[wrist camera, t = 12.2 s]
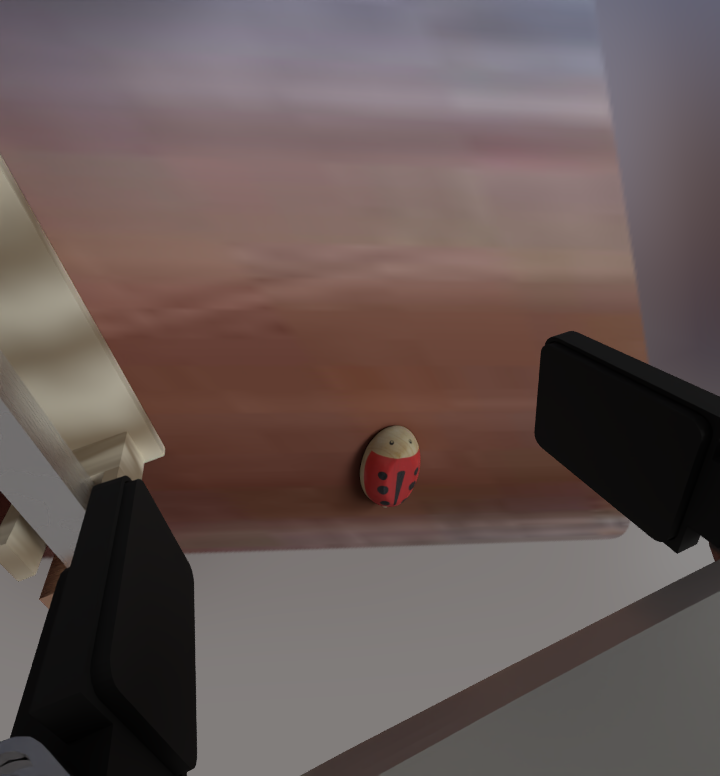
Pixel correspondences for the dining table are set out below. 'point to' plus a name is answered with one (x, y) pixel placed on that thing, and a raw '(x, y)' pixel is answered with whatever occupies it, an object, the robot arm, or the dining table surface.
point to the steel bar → (40, 474)
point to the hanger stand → (61, 368)
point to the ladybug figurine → (390, 466)
